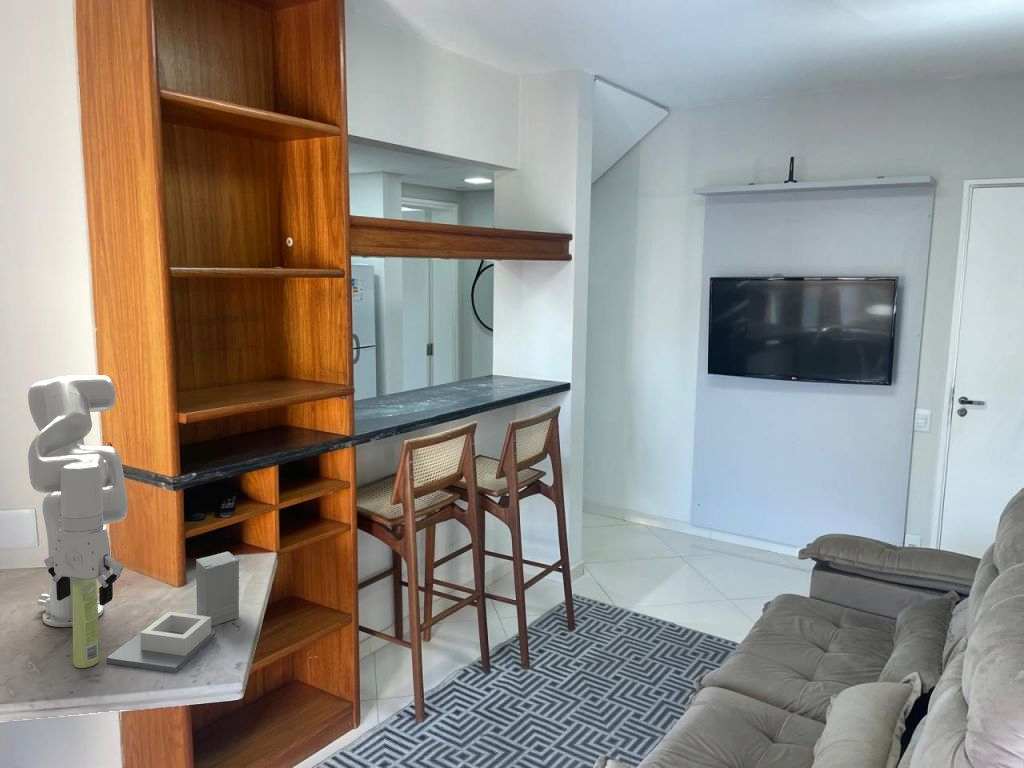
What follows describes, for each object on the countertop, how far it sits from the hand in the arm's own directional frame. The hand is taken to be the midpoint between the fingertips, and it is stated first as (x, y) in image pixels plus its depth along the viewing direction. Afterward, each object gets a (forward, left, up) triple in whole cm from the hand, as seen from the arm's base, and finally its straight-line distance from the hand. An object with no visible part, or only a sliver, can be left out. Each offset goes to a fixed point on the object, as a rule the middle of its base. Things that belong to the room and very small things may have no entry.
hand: (84, 600), depth 156 cm
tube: (0, +1, -15) cm, 15 cm away
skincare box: (+16, +25, -15) cm, 33 cm away
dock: (+12, +9, -15) cm, 21 cm away
